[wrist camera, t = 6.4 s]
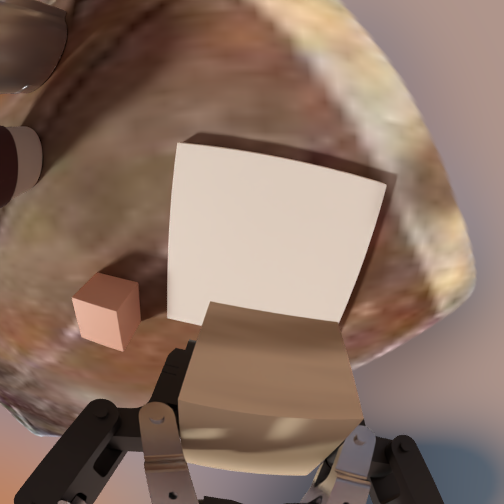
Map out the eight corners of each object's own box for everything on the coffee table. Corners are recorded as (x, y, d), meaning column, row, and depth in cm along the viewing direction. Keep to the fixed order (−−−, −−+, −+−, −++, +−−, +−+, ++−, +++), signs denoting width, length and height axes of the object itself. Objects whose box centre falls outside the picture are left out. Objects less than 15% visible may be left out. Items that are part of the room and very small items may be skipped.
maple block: (210, 301, 11) (177, 399, 6) (337, 322, 11) (363, 418, 7) (202, 381, 13) (182, 461, 9) (302, 396, 13) (306, 475, 9)
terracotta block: (97, 271, 25) (71, 297, 20) (138, 282, 25) (116, 311, 21) (103, 309, 27) (81, 337, 22) (141, 320, 27) (123, 351, 23)
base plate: (182, 142, 19) (177, 142, 18) (381, 182, 20) (386, 184, 19) (170, 310, 26) (167, 317, 25) (327, 337, 26) (329, 345, 25)
